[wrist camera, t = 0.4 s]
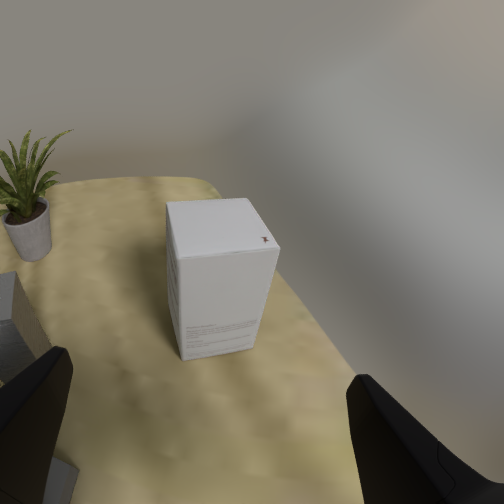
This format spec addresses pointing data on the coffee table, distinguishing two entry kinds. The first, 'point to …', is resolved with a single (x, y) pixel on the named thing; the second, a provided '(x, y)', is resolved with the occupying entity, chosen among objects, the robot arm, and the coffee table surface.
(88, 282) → the coffee table surface
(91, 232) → the coffee table surface
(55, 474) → the scale base
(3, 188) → the house plant
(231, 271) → the supplement box
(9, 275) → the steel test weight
